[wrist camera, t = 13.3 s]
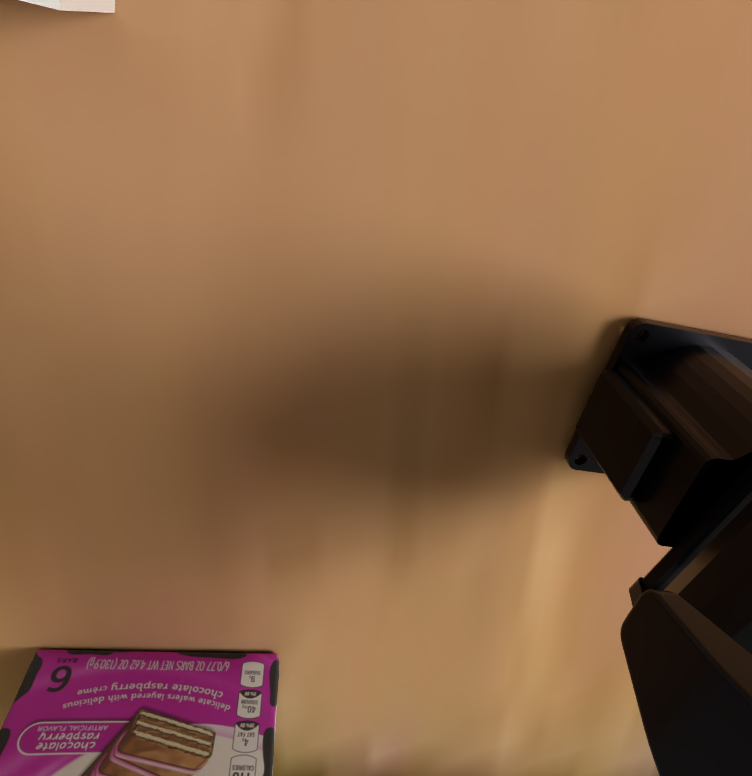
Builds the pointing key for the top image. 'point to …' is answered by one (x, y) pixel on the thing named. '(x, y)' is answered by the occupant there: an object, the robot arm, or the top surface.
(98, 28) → the top surface
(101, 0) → the bore box
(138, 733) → the candy bar box
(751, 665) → the robot arm
